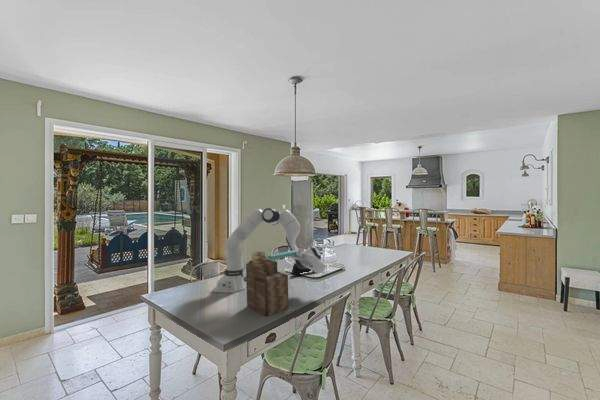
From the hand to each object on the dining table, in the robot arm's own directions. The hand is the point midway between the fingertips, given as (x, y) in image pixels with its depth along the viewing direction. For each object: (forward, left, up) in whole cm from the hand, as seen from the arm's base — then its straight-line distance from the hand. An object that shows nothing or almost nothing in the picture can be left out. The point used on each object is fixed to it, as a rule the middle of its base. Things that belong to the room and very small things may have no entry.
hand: (293, 252), depth 178 cm
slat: (-5, -4, -1) cm, 7 cm away
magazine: (+13, +65, -32) cm, 73 cm away
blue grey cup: (-32, +62, -31) cm, 77 cm away
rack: (-16, -7, -31) cm, 36 cm away
